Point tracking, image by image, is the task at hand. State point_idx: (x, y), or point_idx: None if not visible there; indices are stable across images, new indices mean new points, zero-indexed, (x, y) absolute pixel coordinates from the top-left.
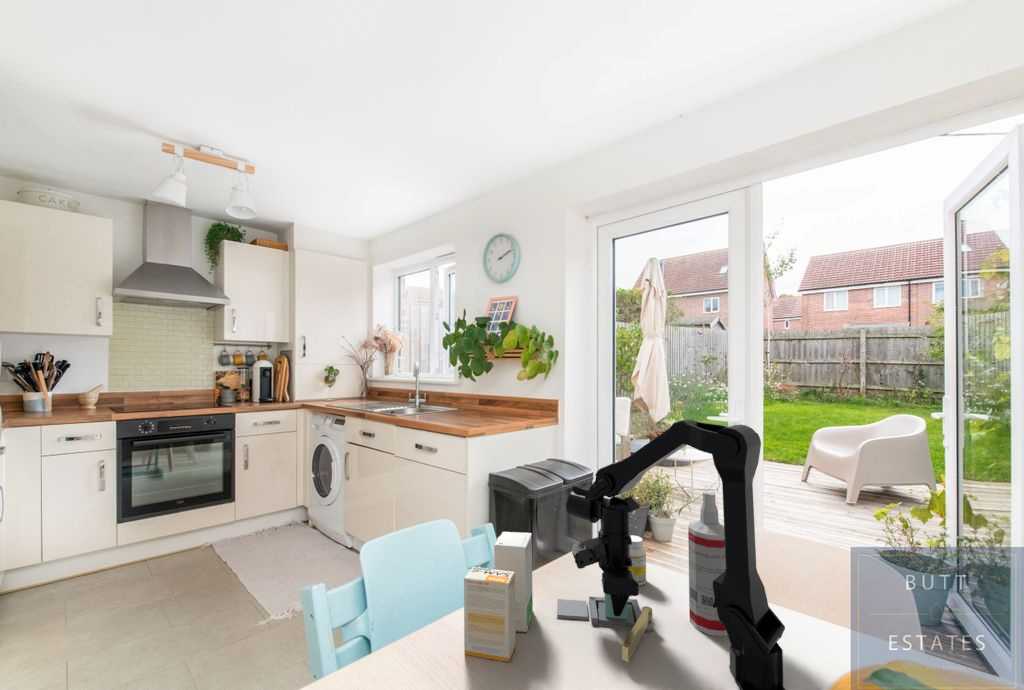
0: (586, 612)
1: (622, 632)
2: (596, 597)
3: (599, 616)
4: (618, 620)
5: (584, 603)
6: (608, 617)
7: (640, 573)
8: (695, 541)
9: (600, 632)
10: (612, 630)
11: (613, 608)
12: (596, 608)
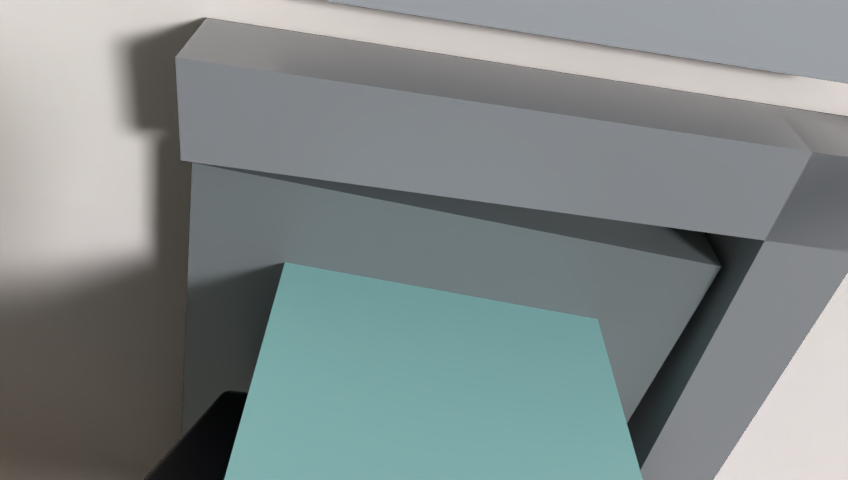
0: (470, 3)
1: (95, 343)
2: (829, 271)
3: (285, 192)
4: (214, 385)
5: (789, 31)
6: (273, 299)
7: None
8: None
9: (16, 104)
10: (110, 258)
11: (152, 477)
12: (491, 202)
